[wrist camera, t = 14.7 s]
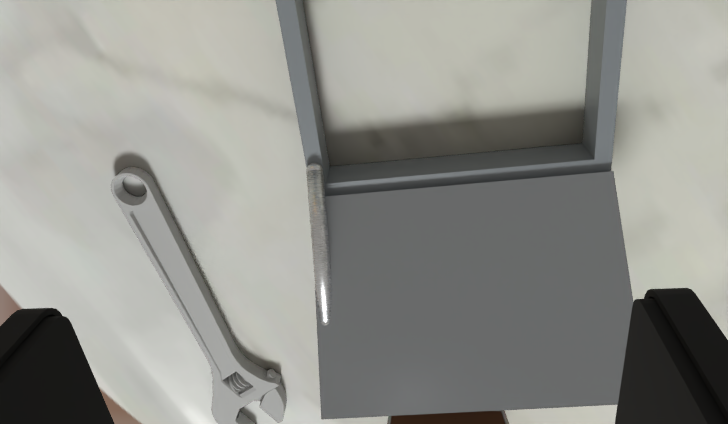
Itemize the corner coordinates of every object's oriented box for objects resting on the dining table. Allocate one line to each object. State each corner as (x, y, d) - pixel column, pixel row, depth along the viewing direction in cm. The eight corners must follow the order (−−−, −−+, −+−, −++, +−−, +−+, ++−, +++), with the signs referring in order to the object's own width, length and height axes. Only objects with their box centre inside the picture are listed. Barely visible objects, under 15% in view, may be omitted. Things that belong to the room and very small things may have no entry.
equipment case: (623, -162, 28) (744, -188, 19) (587, 287, 41) (647, 411, 32) (265, -111, 30) (202, -111, 20) (339, 304, 43) (323, 427, 33)
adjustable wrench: (111, 167, 39) (99, 178, 37) (200, 150, 38) (192, 161, 37) (228, 423, 51) (223, 440, 49) (298, 415, 50) (295, 432, 48)
